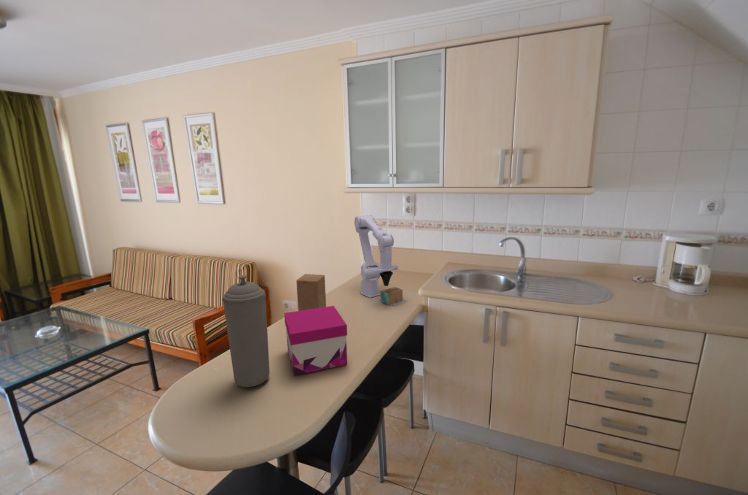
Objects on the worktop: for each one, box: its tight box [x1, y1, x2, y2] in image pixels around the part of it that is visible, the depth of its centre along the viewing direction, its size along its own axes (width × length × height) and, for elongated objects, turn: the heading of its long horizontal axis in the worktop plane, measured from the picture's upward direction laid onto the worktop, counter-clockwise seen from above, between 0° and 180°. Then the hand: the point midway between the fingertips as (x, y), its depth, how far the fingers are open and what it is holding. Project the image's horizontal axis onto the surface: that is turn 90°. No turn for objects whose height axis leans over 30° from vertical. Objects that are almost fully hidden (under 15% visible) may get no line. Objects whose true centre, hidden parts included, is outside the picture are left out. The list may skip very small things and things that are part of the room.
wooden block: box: [296, 273, 327, 311], centre depth 156 cm, size 10×10×20 cm
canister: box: [221, 274, 270, 388], centre depth 108 cm, size 13×13×35 cm
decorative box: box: [283, 305, 348, 376], centre depth 123 cm, size 19×19×15 cm
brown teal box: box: [379, 286, 404, 306], centre depth 176 cm, size 6×6×10 cm
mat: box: [378, 298, 408, 307], centre depth 178 cm, size 12×11×1 cm
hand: (386, 285), depth 171 cm, fingers closed
